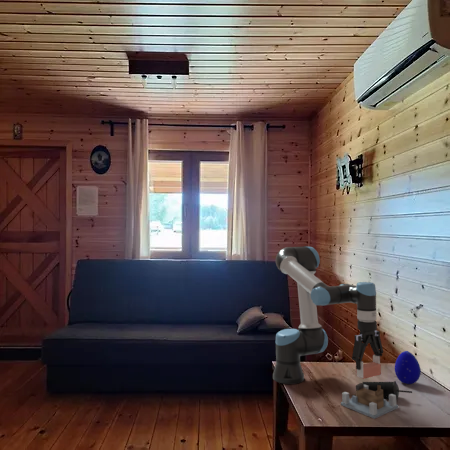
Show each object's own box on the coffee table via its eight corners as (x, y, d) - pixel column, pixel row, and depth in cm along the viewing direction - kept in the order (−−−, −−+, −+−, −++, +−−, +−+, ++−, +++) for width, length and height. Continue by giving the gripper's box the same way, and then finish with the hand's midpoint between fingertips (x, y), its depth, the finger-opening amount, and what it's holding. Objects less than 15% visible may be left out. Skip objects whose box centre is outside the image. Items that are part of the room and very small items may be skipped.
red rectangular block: (363, 378, 164) (363, 368, 164) (356, 375, 167) (355, 366, 167) (381, 374, 168) (380, 364, 168) (373, 371, 172) (373, 361, 172)
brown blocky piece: (383, 406, 165) (383, 384, 165) (378, 409, 162) (377, 387, 163) (361, 399, 173) (361, 378, 173) (356, 401, 170) (355, 380, 170)
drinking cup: (363, 400, 180) (413, 406, 170) (360, 389, 177) (410, 394, 167) (365, 386, 186) (413, 390, 176) (362, 374, 183) (410, 378, 173)
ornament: (422, 382, 192) (421, 350, 192) (417, 389, 185) (416, 355, 185) (398, 377, 199) (397, 347, 199) (392, 383, 192) (391, 351, 192)
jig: (340, 404, 170) (340, 392, 170) (364, 395, 179) (364, 383, 179) (374, 418, 157) (374, 405, 157) (398, 407, 166) (397, 395, 166)
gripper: (357, 325, 159) (358, 383, 158) (391, 317, 172) (393, 370, 171) (341, 322, 165) (343, 377, 164) (375, 315, 178) (377, 366, 178)
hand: (368, 374), depth 168 cm, fingers closed on red rectangular block, 10 cm apart
